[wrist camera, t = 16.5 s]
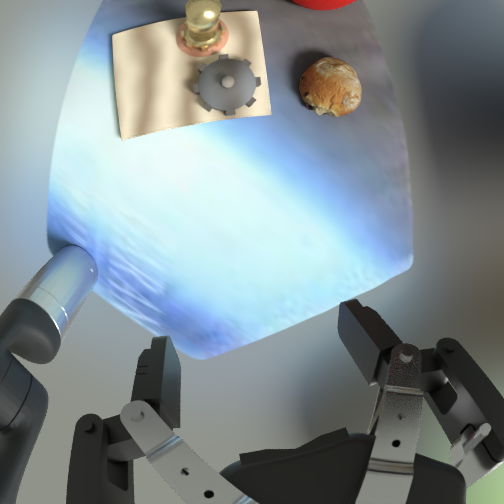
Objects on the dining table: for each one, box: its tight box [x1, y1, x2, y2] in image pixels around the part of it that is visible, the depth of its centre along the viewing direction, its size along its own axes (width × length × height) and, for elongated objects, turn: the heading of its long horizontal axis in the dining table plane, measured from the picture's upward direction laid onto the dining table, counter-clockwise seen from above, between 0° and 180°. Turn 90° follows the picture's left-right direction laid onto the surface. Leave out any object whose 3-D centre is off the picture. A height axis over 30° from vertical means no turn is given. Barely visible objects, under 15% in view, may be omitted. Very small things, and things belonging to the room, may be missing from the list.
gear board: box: [112, 11, 271, 140], centre depth 30 cm, size 22×18×5 cm
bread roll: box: [299, 57, 361, 117], centre depth 35 cm, size 10×10×8 cm
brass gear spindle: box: [181, 0, 225, 53], centre depth 25 cm, size 6×6×10 cm
